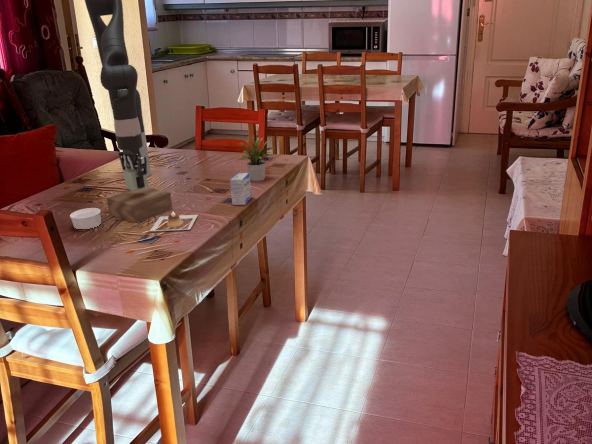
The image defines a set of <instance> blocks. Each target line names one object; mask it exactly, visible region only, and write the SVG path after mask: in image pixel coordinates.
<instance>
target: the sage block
mask: <svg viewBox="0 0 592 444" xmlns="http://www.w3.org/2000/svg"><path fill="white" fill-rule="evenodd" d="M122 171H123V172H122V173H123V177H124V183H125V188H126V190H128V191H130V190H132V191H137V190H141V189H144V188H149V183H148V177H147V176H146V175H143V178H144V184H145V187H144V188H138V187H137V181H136V175H135V172H134V170H132V168H130V169H126V170H123V169H122ZM143 171H144V170H143ZM137 172H138V169H137Z"/></svg>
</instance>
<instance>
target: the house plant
mask: <svg viewBox="0 0 592 444" xmlns="http://www.w3.org/2000/svg"><path fill="white" fill-rule="evenodd" d="M263 139H264V136H262V137H261V138H260V137H259V136H258V137H257V138H256V140H255V135H254V134H253V136H252V145H251V143H250V142H249V141H248V140H245V142H246V144H247V146H246V145H245V144H243V142H244V140H242V141H243V142H241V141H240V143H239V145H240V146H242V148H243V149H245V150H243V151H242V152H243V153H244V154H246V155H241V157H240V159H242V160H244V159H246V158H247V159H248V160H249V161H248V162H246V167H247V170H248V172H247V173H249V175H250V181H251V180H252V181H251V182H262V181H264V180H265V178H266V166H267V162H266V161H265V160H263V158H265V157H267V156H270V157H272V155H273V152H271V151H269V150H271V149H276V148H277V147H273V146H272V147H267V146H269V141H271V140H272V139H268V140H267V141H265V142H264V143H263V145H262V146H261V147H260V144H261V142H262V140H263ZM248 147H249V148H248ZM259 147H260V148H259ZM268 151H269V152H268ZM261 180H262V181H261Z"/></svg>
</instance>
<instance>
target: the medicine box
mask: <svg viewBox="0 0 592 444" xmlns="http://www.w3.org/2000/svg"><path fill="white" fill-rule="evenodd" d="M229 185H230V195H231V204H232V205H233V206H246V205H247V204H248V203H249V201H250V199H252V198H253V197H252V187H251V179H250V175H249V172H238V173H236V174H235V175H234V176H233V177H231V179H230V180H229Z"/></svg>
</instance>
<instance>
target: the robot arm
mask: <svg viewBox="0 0 592 444" xmlns="http://www.w3.org/2000/svg"><path fill="white" fill-rule="evenodd" d="M84 3H85V7H86V10H87V12H88V16H89V19H90V23H91V25H92V29H93V33H94V36H95V41H96V46H97V50H98V56H99V59H100V63H101V66H102V67H101V70H100V75H99V77H100V79H99V80H100V84H101V85H102V87H103V88H104V90H107V91H108V97H109V101H110V107H111V110H112V115H113V122H114V133H115V139H116V144H117V149H118V150H119V152H118V158H119V161H120V165H121V168H122V171H123V170H126V169H130V168H132V170H134V172H135V175H136V181H137V187H138V188H144V187H145V184H144V178H143V175H146V176H147V178H148V177H150V176H151V175H152V171H151V163H150V158H149V157H150V155H149V149H148V143H147V137H146V130H145V125H144V117H143V108H142V100H141V95H140V92H139V90H138V89H137V88H138V87H137V86H138V77H139V76H138V75H139V73H138V71H137V69H136V68H135V67H134V66H133V65H132V64H129V63H130V62H129V56H128V51H127V48H126V47H127V46H126V42H125V41H126V40H125V33H124V32H125V30H124V29H125V28H124V27H125V26H124V25H125V24H124V8H123V6H124V5H123V0H84ZM102 16H103V17H104V16H111V18H110V20H109V22H108V23H107V24H106V23H105V22H104V20H103V18H102ZM137 165H138V166H137ZM135 166H137V167H135ZM137 169H138V172H137ZM143 170H144V171H143Z"/></svg>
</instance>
